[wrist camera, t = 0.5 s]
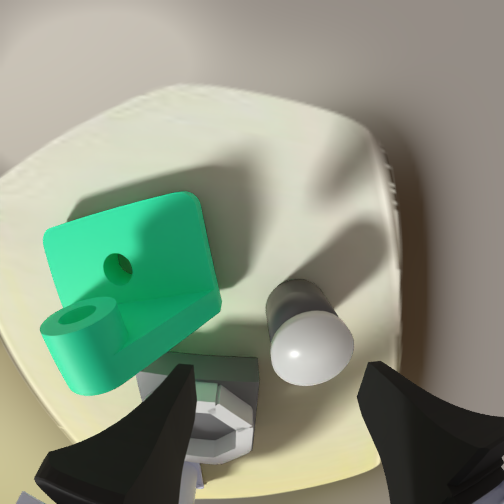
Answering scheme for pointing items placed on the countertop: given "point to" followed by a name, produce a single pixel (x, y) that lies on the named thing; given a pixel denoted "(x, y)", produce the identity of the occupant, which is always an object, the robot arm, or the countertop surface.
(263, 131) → the countertop surface
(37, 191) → the countertop surface
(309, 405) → the countertop surface
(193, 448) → the square octagon-collar plate
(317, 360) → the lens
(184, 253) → the camera mount
